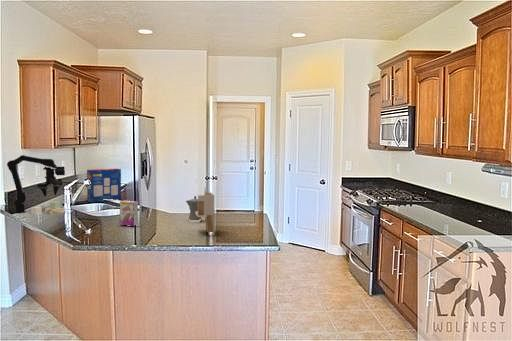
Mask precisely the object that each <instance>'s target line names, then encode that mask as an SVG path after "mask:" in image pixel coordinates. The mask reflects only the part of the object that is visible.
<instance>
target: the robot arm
mask: <svg viewBox="0 0 512 341" xmlns="http://www.w3.org/2000/svg"><path fill="white" fill-rule="evenodd" d="M24 161H25V162H30V163H35V164H40V165H43V166H44V167H43V168H42V170H43V171H45V176H44V179H45V182H44V183H43V182H41V183H37V188H39V190H41V192H42V194H43V195H44V197H47V190H48V187H52V190H53V194H54V196H57V193H58V191H59V189H60V188H61V187H62V186H63V185H64V184H63V179H62V178H58V179H57V177H56V176H65V175H66V168H65V166H57V164H55V160H54V159H52V158H39V157H33V156H29V155H25V154H23V155H20V156H19V157H17V158H15V159H12V160H9V161H8V162H7V163H6V166H7V168H8V170H9V171H10V173H11V175H12V178H13V182H14V186H15V189H16V200H15V201H14V202H13V205H14V206H13V207H14V211H12V213H15V214H22V213H23V214H24V213H26V212H27V210H25V202H26V201H27V199H28V194H27V190H26V191H25V190H24V189H23V184H22V182H21V178H20V175H19V164H20V163H22V162H24ZM55 175H56V176H55Z"/></svg>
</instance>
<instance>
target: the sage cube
mask: <svg viewBox="0 0 512 341" xmlns="http://www.w3.org/2000/svg"><path fill="white" fill-rule="evenodd" d="M61 203H62V202H61V201H60V200H59V201H58V200H55V201H50V202H49V208H50V209H59V208H62V207H61Z"/></svg>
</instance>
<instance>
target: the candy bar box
mask: <svg viewBox="0 0 512 341" xmlns="http://www.w3.org/2000/svg"><path fill="white" fill-rule="evenodd" d="M137 224H138V225H139V202H138V201H135V200H134V201H132V200H121V201H120V200H119V226H120V225H130V226H134V225H137Z"/></svg>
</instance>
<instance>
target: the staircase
mask: <svg viewBox="0 0 512 341" xmlns="http://www.w3.org/2000/svg"><path fill="white" fill-rule="evenodd" d="M197 199H198V211H195V213H196V215H197V216H198V217H201V218H203V217H204V218H205V226H206V227H205V228H206V233H207V232H213V233H214V234H215V226H216V225H215V222H216V221H215V220H216V219H215V217H216V216H215V194H214V193H213V192H211V191H209V192H207V190H206V188H204V195H203V194H202V195H201V194H200V195H197Z"/></svg>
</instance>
